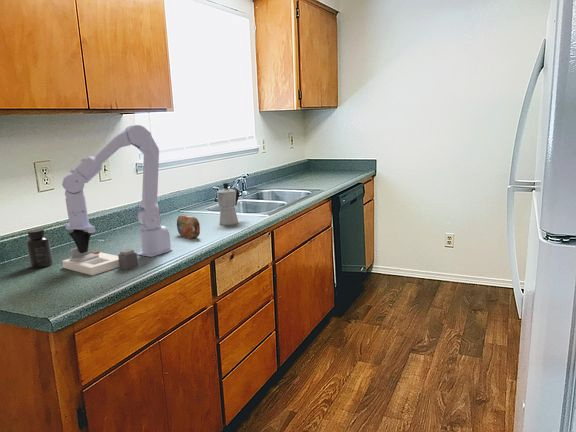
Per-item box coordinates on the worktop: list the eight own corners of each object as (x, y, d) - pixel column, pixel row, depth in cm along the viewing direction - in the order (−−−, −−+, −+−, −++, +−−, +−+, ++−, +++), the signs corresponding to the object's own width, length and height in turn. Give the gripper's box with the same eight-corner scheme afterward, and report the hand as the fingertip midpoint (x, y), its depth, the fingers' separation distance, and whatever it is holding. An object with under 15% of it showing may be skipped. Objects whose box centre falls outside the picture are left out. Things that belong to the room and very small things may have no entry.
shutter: (88, 254, 156) (86, 244, 155) (99, 256, 152) (97, 246, 152) (69, 259, 151) (67, 249, 150) (80, 262, 147) (78, 251, 146)
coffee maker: (227, 227, 198) (224, 185, 194) (211, 225, 202) (208, 184, 199) (248, 220, 210) (245, 180, 206) (233, 218, 215) (230, 180, 211)
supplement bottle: (57, 261, 159) (51, 227, 156) (47, 267, 152) (41, 232, 150) (36, 263, 158) (30, 229, 156) (26, 269, 152) (20, 233, 149)
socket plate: (96, 258, 160) (95, 249, 160) (126, 264, 150) (125, 255, 150) (63, 267, 151) (61, 258, 150) (92, 275, 141) (91, 265, 140)
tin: (177, 234, 189) (174, 214, 188) (184, 233, 191) (182, 213, 190) (195, 240, 178) (193, 218, 176) (202, 238, 180) (200, 217, 178)
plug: (130, 265, 150) (128, 248, 149) (138, 266, 147) (136, 250, 146) (119, 268, 147) (117, 251, 146) (127, 270, 144) (125, 253, 143)
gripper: (53, 212, 150) (60, 252, 152) (77, 215, 141) (84, 258, 144) (74, 208, 155) (80, 247, 158) (98, 211, 147) (104, 252, 149)
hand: (83, 252), depth 151 cm, fingers closed
